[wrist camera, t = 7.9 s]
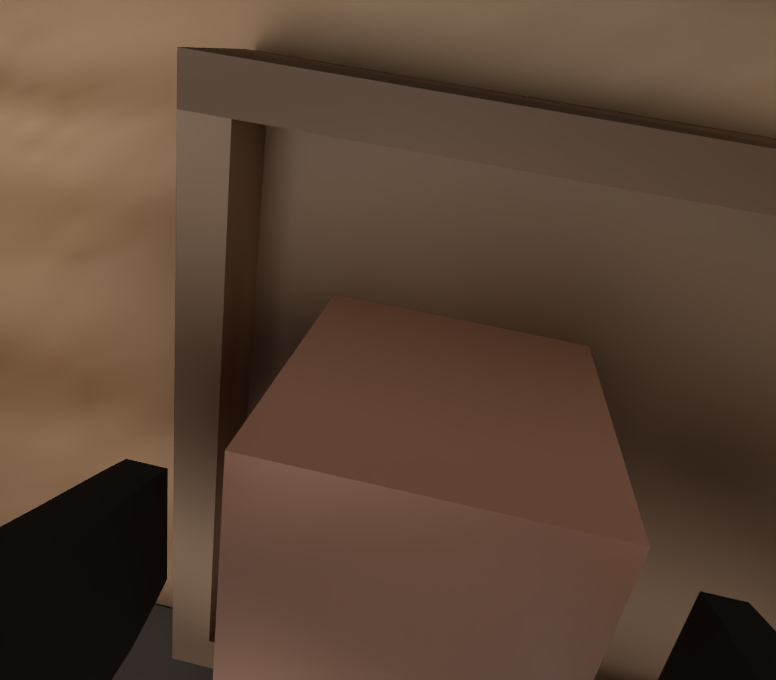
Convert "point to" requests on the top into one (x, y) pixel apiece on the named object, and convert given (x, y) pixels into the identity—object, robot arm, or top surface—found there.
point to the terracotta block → (425, 508)
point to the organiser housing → (158, 654)
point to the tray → (486, 292)
